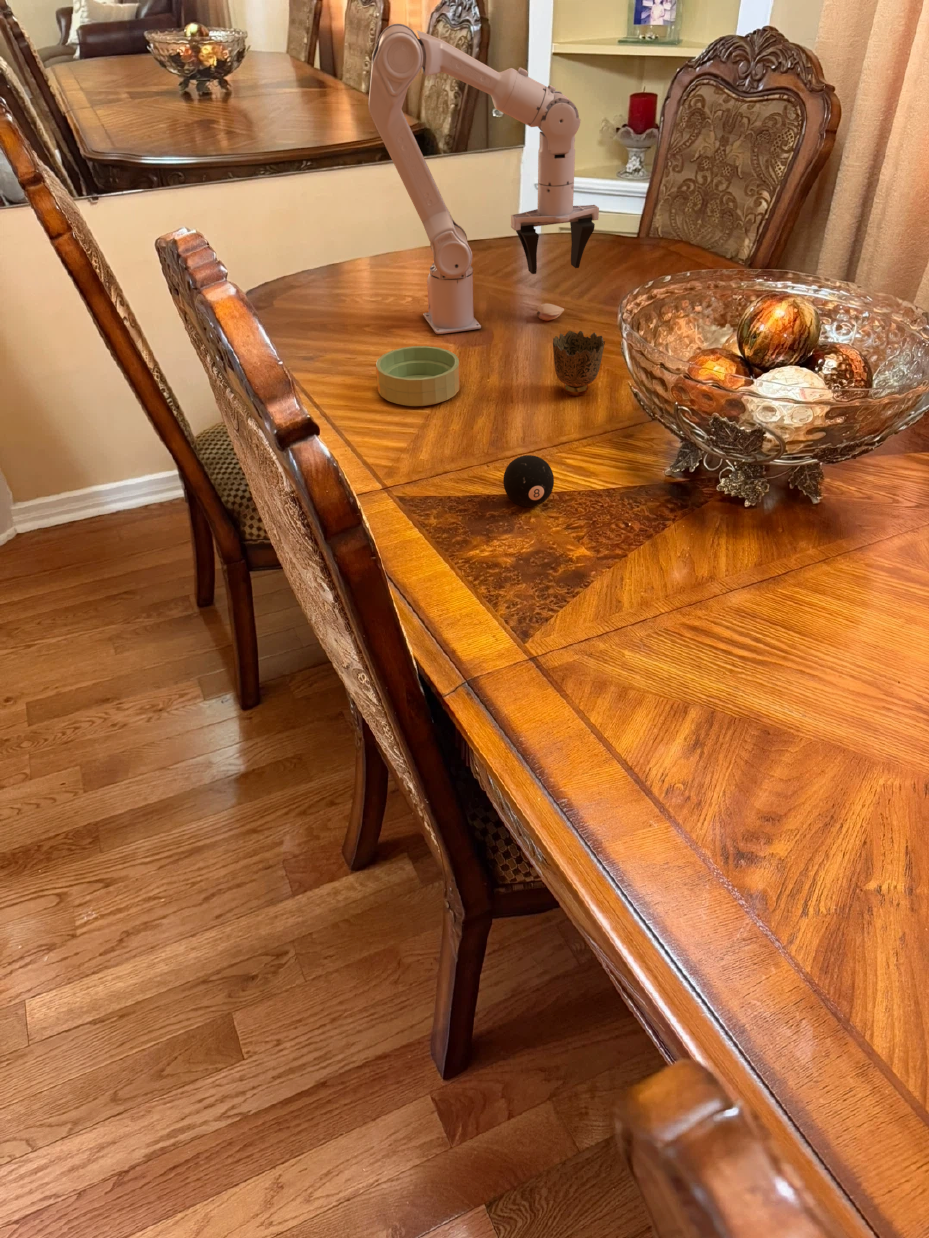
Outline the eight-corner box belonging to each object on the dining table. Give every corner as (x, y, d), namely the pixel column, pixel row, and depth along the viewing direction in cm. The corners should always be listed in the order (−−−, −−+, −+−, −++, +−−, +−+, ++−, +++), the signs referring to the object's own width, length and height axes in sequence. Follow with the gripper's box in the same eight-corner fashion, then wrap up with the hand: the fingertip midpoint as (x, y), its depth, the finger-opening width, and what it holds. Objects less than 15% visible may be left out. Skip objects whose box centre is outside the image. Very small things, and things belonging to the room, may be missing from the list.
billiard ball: (512, 519, 106) (512, 475, 102) (497, 494, 110) (497, 450, 106) (559, 511, 107) (562, 467, 103) (542, 486, 111) (544, 443, 108)
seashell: (532, 316, 156) (533, 302, 155) (558, 312, 158) (559, 298, 156) (543, 325, 153) (543, 310, 152) (569, 320, 154) (570, 306, 153)
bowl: (371, 380, 137) (368, 352, 134) (447, 369, 140) (446, 341, 137) (388, 414, 128) (385, 384, 125) (469, 402, 130) (468, 373, 128)
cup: (542, 397, 131) (544, 344, 126) (562, 378, 136) (564, 327, 131) (589, 407, 128) (593, 353, 123) (607, 387, 133) (612, 335, 128)
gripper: (520, 193, 137) (520, 282, 145) (608, 182, 140) (603, 271, 148) (506, 182, 142) (507, 269, 151) (591, 172, 145) (587, 258, 153)
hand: (553, 269), depth 150 cm, fingers open, 7 cm apart
